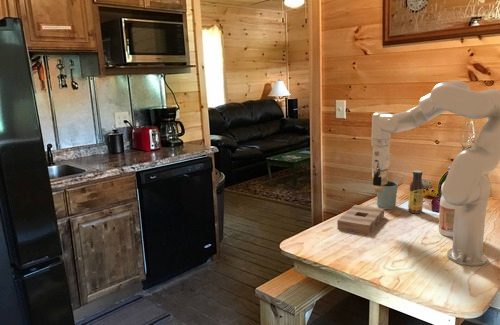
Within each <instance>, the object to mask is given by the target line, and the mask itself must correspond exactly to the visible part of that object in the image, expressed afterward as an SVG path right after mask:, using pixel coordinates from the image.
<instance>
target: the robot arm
mask: <svg viewBox="0 0 500 325" xmlns="http://www.w3.org/2000/svg"><path fill="white" fill-rule="evenodd" d="M446 112H448V113H452V114H455V115H458V116H461V117H464V118H467V119H471V120H482V119H484V118H486V121H485V123H484V124H483V125H482V126H481V129H480V130H479V133H478V135H477V138H476V139H475V142H474V144H473V145H472V146H471V147H468V148H465V149H463V150H461V151H459V153H457V154H456V155H455V157H454V158H453V160H452V162H451V165H450V166H451V168H450V170H449V172H448V173H447V175H446V178H445V180H444V182H445V183H444V182H443V183H444V186H443V196H444V198H445V200H446V201H447V202H448V203H449V204H451V205H454V206H455V213H454V229H453V237H452V247H451V248H450V249H448V250H447V253H446V256H447V258H448V259H449V260H451V261H452V262H453V263H454V262H455V263H456V264H459V265H463V266H469V267H477V266H478V267H479V266H483V265H485V264H487V261H488V257H487V255H486V254H484V252H483V251H484V250H483V249H484V247H483V246H484V238H485V236H484V235H485V223H486V215H487V212H486V211H487V206H488V201H489V198H490V193H491V183H490V180H489V178H488V177H487V176H486V174H488V173H491V172H492V171H494V170H495V169H496V168H497V167H498V165H499V163H500V89H498V88H497V89H496V88H494V89H492V88H491V89H485V90H480V91H475V90H471V86H470V85H469V84H468V83H467V82H465V81H463V80H458V79H457V80H448V81H442V82H439V83H437V84H436V85H435V86H434V87H433V88H432V89H431V91H430V93H427V94H426V95H424V96H421V97H420V99H419V101H418V105H417V106H415V107H413V108H410V109H409V110H407V111H402V112H395V113H390V112H388V111H376V112H374V113H373V114H372V115H371V116H372V117H371V143H370V144H371V147H372V156H371V168H372V169H373V184H372V185H373V186H374V187H375V186H381V177H380V176H381V170H382V171H383V170H385V169H388V168H389V166H390V165H391V162H390V161H391V160H390V158H391V157H390V156H391V155H390V153H391V152H390V147H391V140H392V139H391V136H392V135H391V134H396V133H401V132H406V131H410V130H413V129H415V128H417V127H420V126H422V125H423V124H426V123H428V122H429V121H431V120H432V119H434V118H435V117H438V116H440V115H442V114H444V113H446ZM377 168H380V169H377ZM377 171H379V172H377Z"/></svg>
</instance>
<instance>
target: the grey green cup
mask: <svg viewBox="0 0 500 325" xmlns="http://www.w3.org/2000/svg"><path fill="white" fill-rule="evenodd" d="M398 187H399V184H398V182H396V181H393V180H387V185H384V192H376V198H377V199H376V206H377V208H381V209H384V210H393V209H395V208H396V203H397V193H398V190H399V189H398Z"/></svg>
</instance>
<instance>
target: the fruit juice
mask: <svg viewBox="0 0 500 325" xmlns="http://www.w3.org/2000/svg"><path fill="white" fill-rule="evenodd" d="M450 168H451V165H449V166H448V167H447V171H448V173H449V170H450ZM444 183H445V181H444V182H442V184H441V186H440V187H441V188H440V191H441V195H440V196H441V197H440V198H439V200H440V201H439V212H438V213H439V216H438V232H439V234H441V235H443V236H445V237H450V238H453V229H454V213H455V206H454V205H451V204H449V203H448V202H447V201H446V200H445V198H444V196H443V186H444Z"/></svg>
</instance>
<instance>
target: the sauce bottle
mask: <svg viewBox="0 0 500 325" xmlns="http://www.w3.org/2000/svg"><path fill="white" fill-rule="evenodd" d="M422 175H423V171H422V170H413V171H412V181H411V182H410V185H409V192H408V205H407V206H408V209H407V210H408V212H409V213H411V214H420V213H422V212H423V205H424V203H423V202H424V191H425V188H424V185H423V181H422V180H423V179H422Z"/></svg>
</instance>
